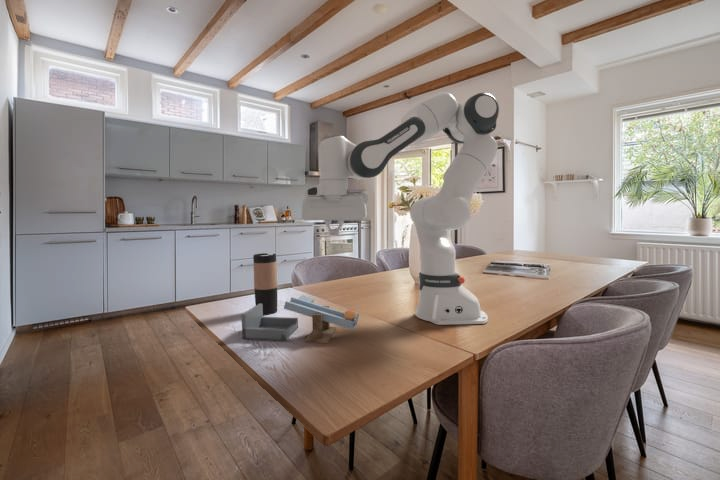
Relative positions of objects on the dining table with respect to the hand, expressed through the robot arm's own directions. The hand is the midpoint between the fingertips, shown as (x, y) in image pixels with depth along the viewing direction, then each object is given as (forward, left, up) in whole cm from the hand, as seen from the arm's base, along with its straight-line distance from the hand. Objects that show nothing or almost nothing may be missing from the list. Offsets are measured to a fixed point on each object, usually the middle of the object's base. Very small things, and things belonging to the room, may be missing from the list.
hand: (334, 234), depth 108 cm
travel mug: (+26, -6, -27) cm, 38 cm away
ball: (-7, +14, -21) cm, 26 cm away
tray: (+16, +14, -27) cm, 34 cm away
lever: (+1, +11, -22) cm, 24 cm away
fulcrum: (+1, +14, -27) cm, 31 cm away
